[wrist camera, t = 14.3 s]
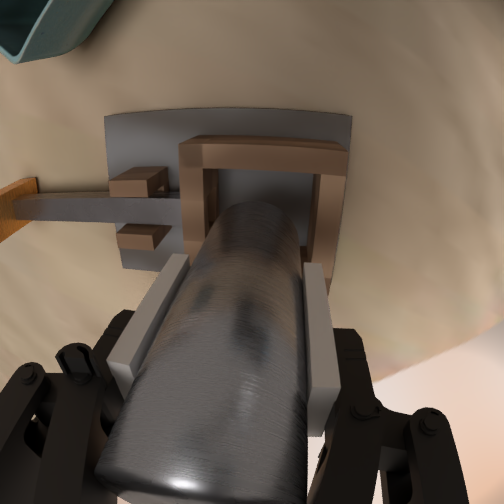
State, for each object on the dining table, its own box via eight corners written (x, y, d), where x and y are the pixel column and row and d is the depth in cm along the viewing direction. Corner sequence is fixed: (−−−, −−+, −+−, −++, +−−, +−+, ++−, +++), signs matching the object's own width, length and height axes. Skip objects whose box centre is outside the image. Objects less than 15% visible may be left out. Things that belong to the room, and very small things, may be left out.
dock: (111, 115, 22) (70, 123, 17) (349, 115, 21) (368, 120, 16) (128, 261, 29) (100, 295, 24) (329, 277, 27) (336, 318, 22)
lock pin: (21, 178, 25) (-37, 209, 18) (202, 171, 24) (162, 209, 16) (28, 214, 27) (-26, 250, 20) (203, 218, 26) (169, 273, 18)
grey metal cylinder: (208, 198, 17) (58, 438, 4) (302, 203, 16) (329, 490, 4) (211, 278, 19) (129, 509, 7) (294, 284, 19) (291, 535, 6)
